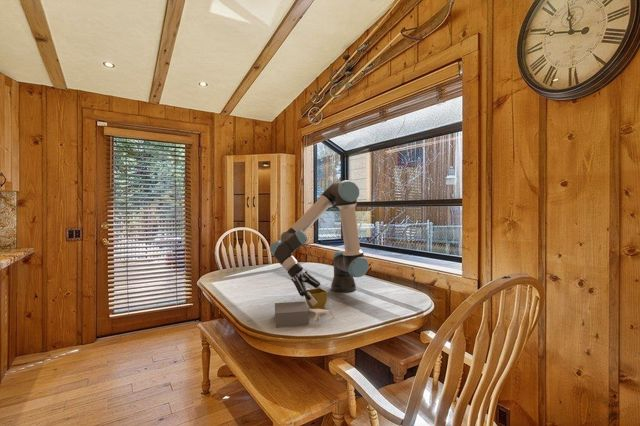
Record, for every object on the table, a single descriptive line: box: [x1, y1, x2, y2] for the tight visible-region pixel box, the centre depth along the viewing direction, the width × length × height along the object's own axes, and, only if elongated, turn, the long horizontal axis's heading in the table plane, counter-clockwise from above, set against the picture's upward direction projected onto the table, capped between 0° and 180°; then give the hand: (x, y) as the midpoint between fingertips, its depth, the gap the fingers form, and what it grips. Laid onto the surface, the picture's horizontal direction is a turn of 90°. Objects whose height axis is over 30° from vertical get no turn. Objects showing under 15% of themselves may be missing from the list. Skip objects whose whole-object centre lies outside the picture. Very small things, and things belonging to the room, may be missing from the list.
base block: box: [274, 300, 310, 328], centre depth 137 cm, size 14×14×6 cm
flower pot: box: [304, 287, 329, 309], centre depth 152 cm, size 9×9×9 cm
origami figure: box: [308, 308, 336, 325], centre depth 136 cm, size 12×8×5 cm
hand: (320, 300), depth 151 cm, fingers closed on flower pot, 12 cm apart
